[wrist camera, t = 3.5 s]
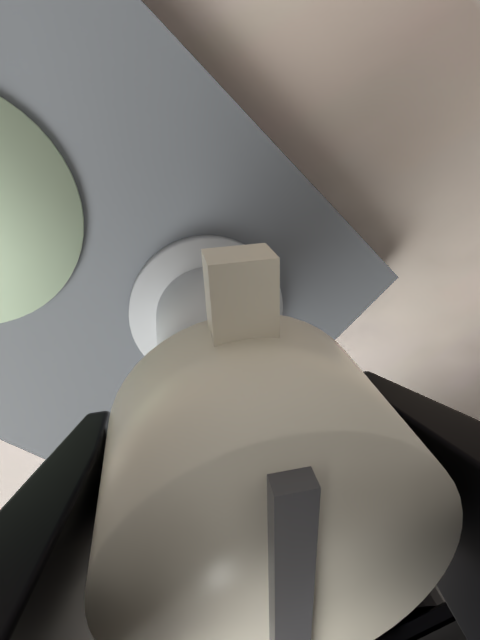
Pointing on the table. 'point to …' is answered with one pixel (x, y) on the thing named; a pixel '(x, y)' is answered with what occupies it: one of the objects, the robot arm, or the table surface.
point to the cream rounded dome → (261, 483)
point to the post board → (135, 209)
